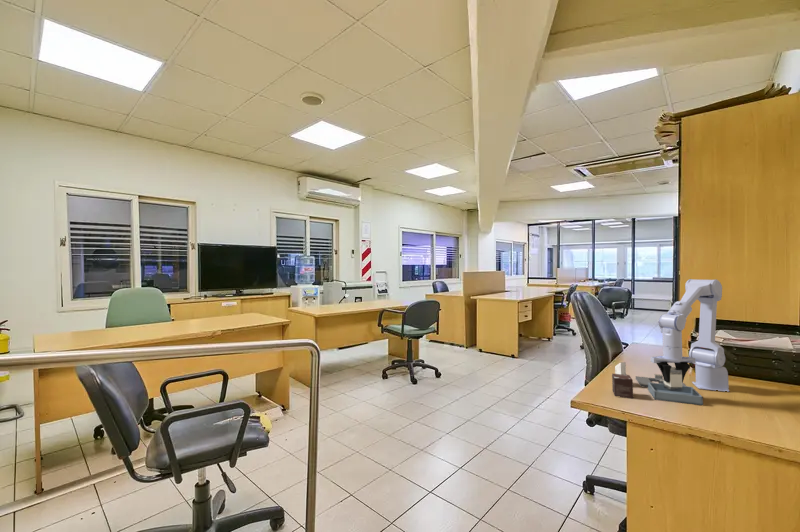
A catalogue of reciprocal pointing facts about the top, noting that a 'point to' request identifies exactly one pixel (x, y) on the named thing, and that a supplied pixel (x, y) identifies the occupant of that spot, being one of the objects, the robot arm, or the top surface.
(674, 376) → the tan rectangular block
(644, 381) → the frame
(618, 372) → the white wedge bracket
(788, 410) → the top surface
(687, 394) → the tray
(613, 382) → the box
